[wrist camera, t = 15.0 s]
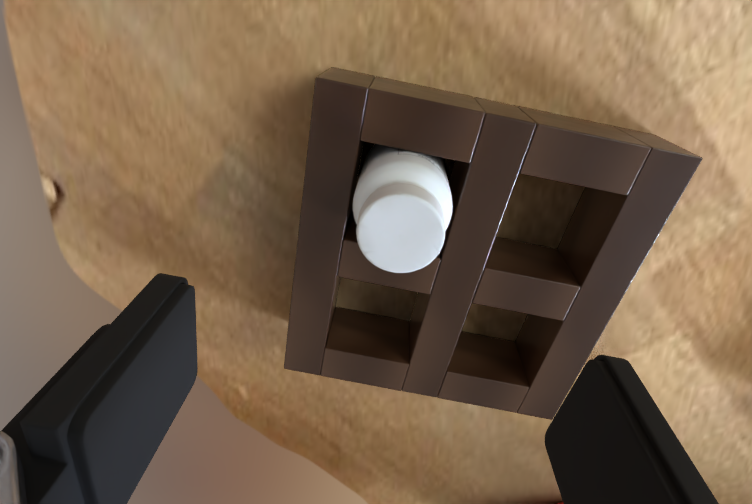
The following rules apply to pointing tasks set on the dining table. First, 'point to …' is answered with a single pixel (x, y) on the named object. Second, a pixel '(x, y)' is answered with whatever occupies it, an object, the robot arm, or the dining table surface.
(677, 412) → the dining table surface
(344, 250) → the grid rack
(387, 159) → the pill bottle
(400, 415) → the dining table surface
